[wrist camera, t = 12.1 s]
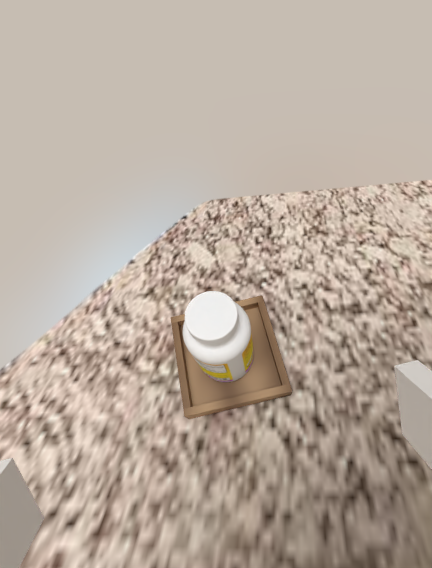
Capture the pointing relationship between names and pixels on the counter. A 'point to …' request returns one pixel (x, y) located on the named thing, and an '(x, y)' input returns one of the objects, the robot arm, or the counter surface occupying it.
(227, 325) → the supplement bottle
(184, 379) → the walnut tray
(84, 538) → the counter surface
